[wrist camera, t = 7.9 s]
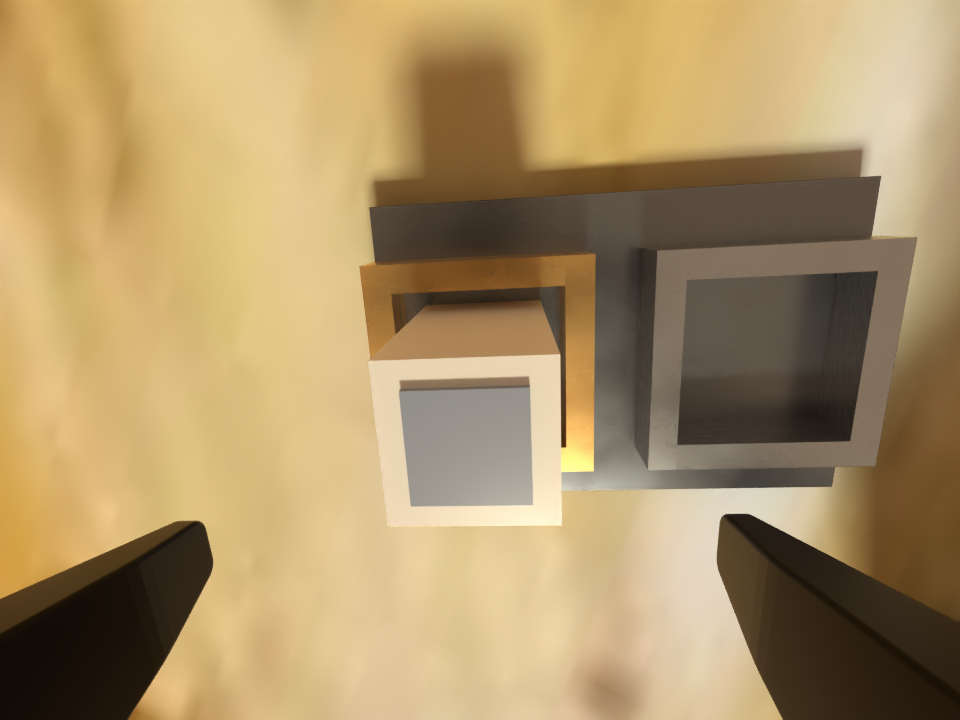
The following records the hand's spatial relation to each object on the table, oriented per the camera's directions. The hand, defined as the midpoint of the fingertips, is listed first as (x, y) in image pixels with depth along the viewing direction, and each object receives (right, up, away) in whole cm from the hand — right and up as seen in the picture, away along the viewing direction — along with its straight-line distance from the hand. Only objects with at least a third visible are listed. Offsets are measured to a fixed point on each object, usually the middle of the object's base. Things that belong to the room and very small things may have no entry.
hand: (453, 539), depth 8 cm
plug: (+1, +3, +11) cm, 11 cm away
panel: (+6, +4, +11) cm, 13 cm away
